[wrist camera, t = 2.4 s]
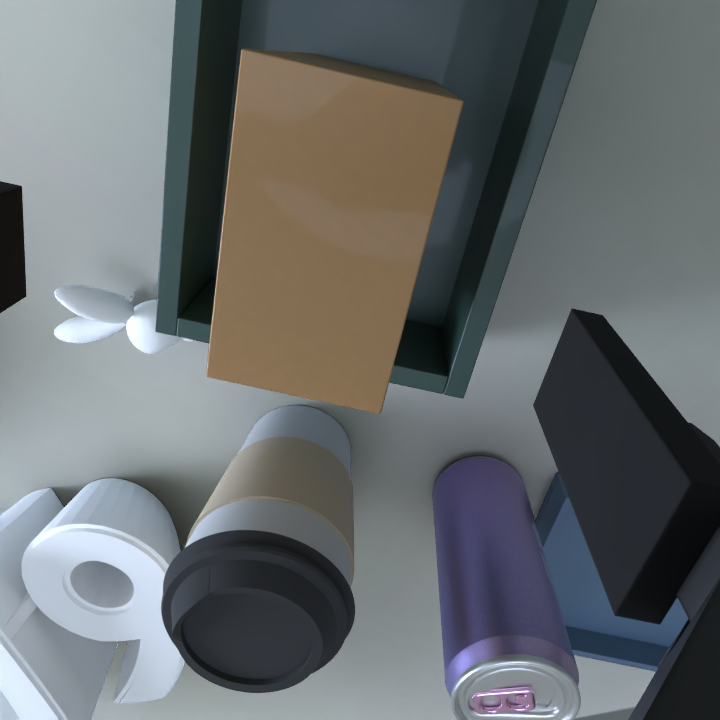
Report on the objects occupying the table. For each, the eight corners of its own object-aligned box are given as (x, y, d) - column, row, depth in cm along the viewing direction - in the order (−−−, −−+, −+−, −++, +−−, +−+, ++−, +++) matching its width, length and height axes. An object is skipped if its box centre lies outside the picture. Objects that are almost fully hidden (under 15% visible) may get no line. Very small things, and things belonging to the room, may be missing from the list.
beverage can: (425, 458, 39) (436, 665, 26) (518, 444, 38) (581, 651, 25) (439, 528, 42) (457, 751, 28) (527, 517, 41) (589, 741, 27)
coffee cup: (395, 436, 39) (392, 637, 25) (322, 525, 42) (285, 742, 29) (272, 364, 37) (198, 539, 23) (207, 464, 41) (110, 664, 27)
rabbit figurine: (189, 372, 38) (44, 361, 34) (189, 315, 39) (49, 297, 35) (217, 335, 33) (52, 316, 29) (216, 271, 34) (58, 245, 30)
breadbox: (452, 339, 35) (463, 399, 29) (199, 283, 35) (154, 332, 29) (578, -67, 27) (633, -107, 20) (240, -151, 26) (189, -218, 20)
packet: (437, 82, 29) (464, 100, 16) (389, 280, 33) (380, 414, 20) (312, 52, 28) (241, 47, 16) (280, 256, 33) (205, 377, 20)
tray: (778, 519, 40) (800, 547, 37) (689, 650, 45) (704, 681, 43) (556, 472, 39) (566, 497, 37) (494, 611, 45) (499, 640, 43)
